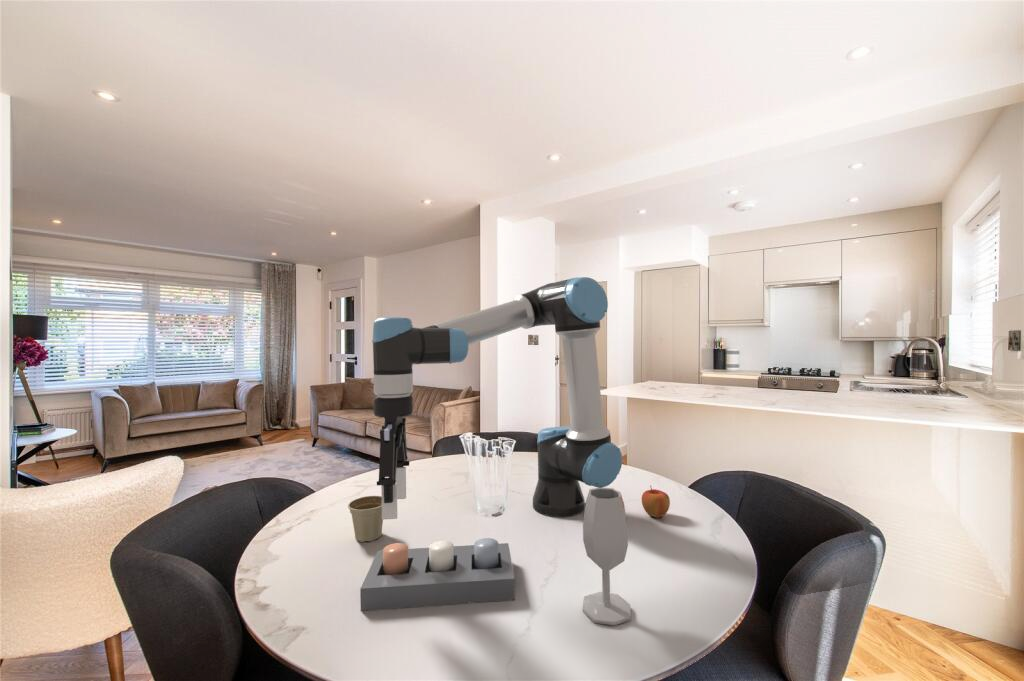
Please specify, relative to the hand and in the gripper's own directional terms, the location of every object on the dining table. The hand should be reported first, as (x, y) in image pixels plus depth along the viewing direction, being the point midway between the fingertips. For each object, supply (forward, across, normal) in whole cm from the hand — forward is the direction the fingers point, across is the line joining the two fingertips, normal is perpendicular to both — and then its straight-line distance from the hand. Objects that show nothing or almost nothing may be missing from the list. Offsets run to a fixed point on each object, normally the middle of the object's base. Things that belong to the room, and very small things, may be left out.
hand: (394, 507), depth 84 cm
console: (+16, 0, +9) cm, 18 cm away
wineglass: (+16, +12, +39) cm, 44 cm away
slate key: (+12, 0, +18) cm, 22 cm away
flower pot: (+16, -23, -11) cm, 30 cm away
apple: (+16, -26, +65) cm, 72 cm away
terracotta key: (+12, 0, 0) cm, 12 cm away
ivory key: (+12, 0, +9) cm, 15 cm away
